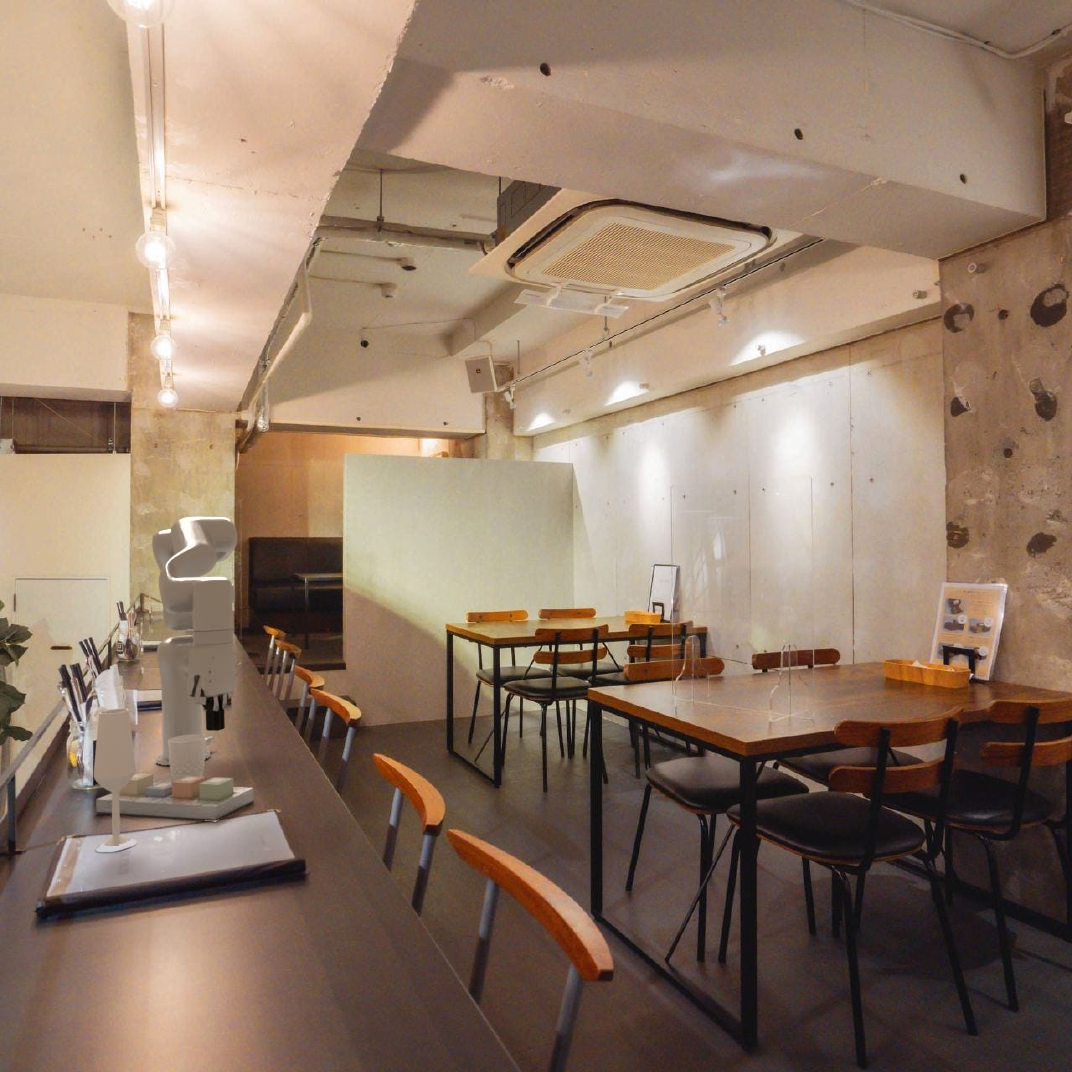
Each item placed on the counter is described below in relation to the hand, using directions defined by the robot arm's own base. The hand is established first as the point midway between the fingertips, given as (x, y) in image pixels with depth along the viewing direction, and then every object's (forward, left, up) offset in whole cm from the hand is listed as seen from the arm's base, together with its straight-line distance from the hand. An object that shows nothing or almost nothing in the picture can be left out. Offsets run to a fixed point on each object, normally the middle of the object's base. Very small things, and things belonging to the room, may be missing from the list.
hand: (215, 729), depth 156 cm
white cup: (-17, -21, -17) cm, 32 cm away
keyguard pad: (0, -10, -16) cm, 19 cm away
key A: (0, -7, -14) cm, 15 cm away
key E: (0, 0, -14) cm, 14 cm away
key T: (0, -13, -15) cm, 20 cm away
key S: (0, -20, -14) cm, 24 cm away
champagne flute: (+20, -6, -17) cm, 27 cm away
